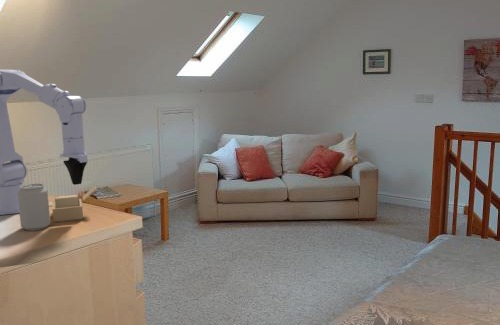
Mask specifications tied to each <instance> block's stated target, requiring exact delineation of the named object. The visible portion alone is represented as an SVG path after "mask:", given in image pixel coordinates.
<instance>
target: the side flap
mask: <svg viewBox="0 0 500 325" xmlns="http://www.w3.org/2000/svg"><path fill="white" fill-rule="evenodd" d="M96 191H97V187H96V185H93V186H92V187H91V188H90V189H89V190H88V191H87V192H86V193H85V194H84V195H83V196H82V201H83V202H84V201H86V200H87V199H88V198H89V197H90V196H91V195H92V194H93V193H95V192H96Z"/></svg>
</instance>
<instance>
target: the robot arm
mask: <svg viewBox="0 0 500 325" xmlns="http://www.w3.org/2000/svg"><path fill="white" fill-rule="evenodd" d="M21 89H22V90H25V91H27V92H29V93H32V94H34V95H36V96H38V97H37V98H38V100H39V101H40V102H41V103H43V104H45V105H47V106H49V107H50V108H52V109H54V110H55V111H56V114H57V115H58V116H59V121H60V123H61V135H62V144H63V146H62V147H63V150H62V153H60V154H59V157H61V158H67V160H63V161H62V162H63V165H64V166H65V167H66V169H67V171H68V174H69V177H70V180H71V183H72V185H73V186H75V185H81V184H82V182H83V176H84V172H85V171H84V170H85V168H86V165H87V163H88V154H87V153H86V149H85V147H86V145H85V135H84V133H85V132H84V123H83V120H84V119H83V114H84V113H85V112H86V108H87V103H86V100H85V99H84V98H83V96H81V94H73V95H71V94H70V91H68V90H63V89H60V88H59V87H58V86H57V84H55V83H47V84H46V83H45V84H42V83H41V82H39V81H37V80H35V79H34V78H32V77H31V76H29V75H28V74H26V72H25V71H22V70H20V69H17V68H12V69H7V68H5V69H4V68H2V69H0V216H2V215H13V214H20V212H19V203H18V192H19V190H20V186H23V182H25V178H27V175H28V169H27V166H26V163H25V161H24V157H23V156H22V155H21V154H19V153H18V152H16V149H15V144H14V138H13V134H12V133H13V131H12V127H11V126H12V125H11V121H10V116H9V110H8V104H7V101H8V100H9V99H10V97H12V96H13V95H15V94H16V93H17V92H18V91H20V90H21Z"/></svg>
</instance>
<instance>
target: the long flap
mask: <svg viewBox="0 0 500 325" xmlns="http://www.w3.org/2000/svg"><path fill="white" fill-rule="evenodd" d="M78 199H79V196H77V197H68V198H58V199H57V198H54V201H55V204H56V208H60V207H70V206H78Z"/></svg>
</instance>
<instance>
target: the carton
mask: <svg viewBox="0 0 500 325" xmlns="http://www.w3.org/2000/svg"><path fill="white" fill-rule="evenodd" d="M68 197H78V194H74V195H73V194H72V195H71V194H70V195H61V196H57V197H56V199H58V198H68ZM82 201H83V200H82V198H78V206H70V207H60V208H56V204H55V200H54V201H48V202H49V208H51V207H52V218H53V219H52V220H53V224H57V223H66V222H72V221H73V222H74V221H82V220H84V215H83V214H84V213H83V202H82Z"/></svg>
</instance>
